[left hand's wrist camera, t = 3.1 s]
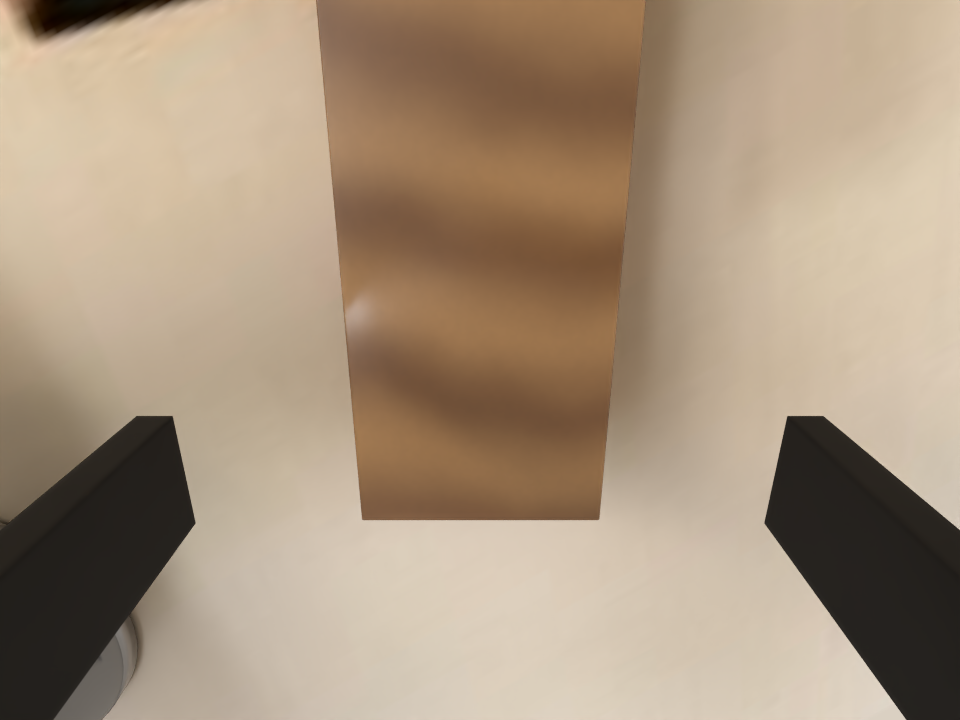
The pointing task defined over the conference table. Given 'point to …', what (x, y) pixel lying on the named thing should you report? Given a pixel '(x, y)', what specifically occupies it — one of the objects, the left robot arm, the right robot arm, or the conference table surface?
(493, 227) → the striped wooden beam
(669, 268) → the conference table surface
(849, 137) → the conference table surface
